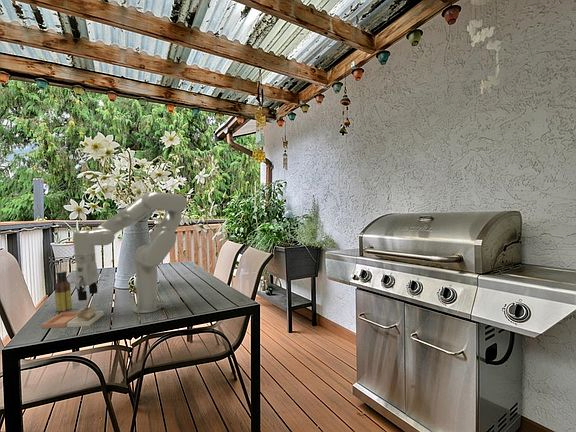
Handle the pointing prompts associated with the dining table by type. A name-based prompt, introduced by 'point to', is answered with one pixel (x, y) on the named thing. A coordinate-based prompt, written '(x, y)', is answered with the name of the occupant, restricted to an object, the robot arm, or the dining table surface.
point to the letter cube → (86, 314)
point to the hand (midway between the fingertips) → (88, 296)
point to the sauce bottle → (62, 293)
